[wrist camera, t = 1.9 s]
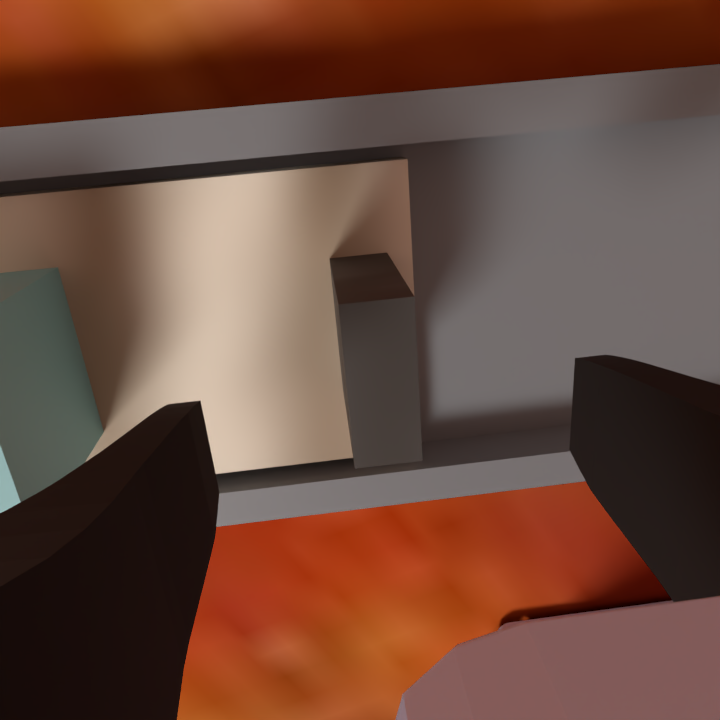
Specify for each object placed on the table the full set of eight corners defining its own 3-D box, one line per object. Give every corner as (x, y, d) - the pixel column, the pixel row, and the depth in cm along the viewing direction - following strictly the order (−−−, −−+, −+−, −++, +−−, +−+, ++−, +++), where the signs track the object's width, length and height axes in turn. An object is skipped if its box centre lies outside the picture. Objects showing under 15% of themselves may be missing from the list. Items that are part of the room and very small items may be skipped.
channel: (834, 56, 18) (911, 47, 15) (763, 418, 22) (814, 452, 20) (-239, 150, 16) (-325, 156, 14) (-77, 520, 21) (-122, 568, 18)
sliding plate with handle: (401, 156, 17) (444, 173, 12) (416, 434, 20) (454, 539, 15) (-239, 216, 16) (-489, 262, 11) (-111, 496, 19) (-257, 630, 14)
